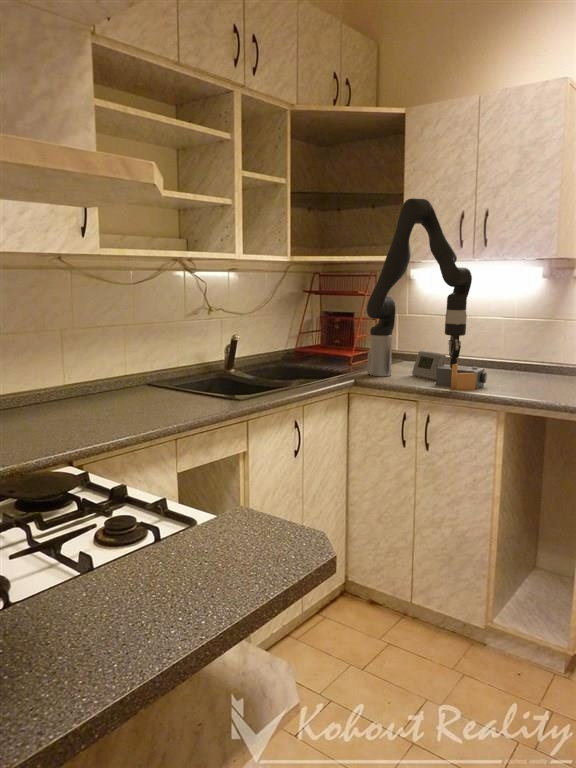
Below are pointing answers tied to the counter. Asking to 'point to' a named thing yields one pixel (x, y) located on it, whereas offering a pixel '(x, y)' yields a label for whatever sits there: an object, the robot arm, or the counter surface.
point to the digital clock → (428, 364)
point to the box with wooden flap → (446, 372)
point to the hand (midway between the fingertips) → (453, 368)
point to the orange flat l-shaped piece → (463, 379)
